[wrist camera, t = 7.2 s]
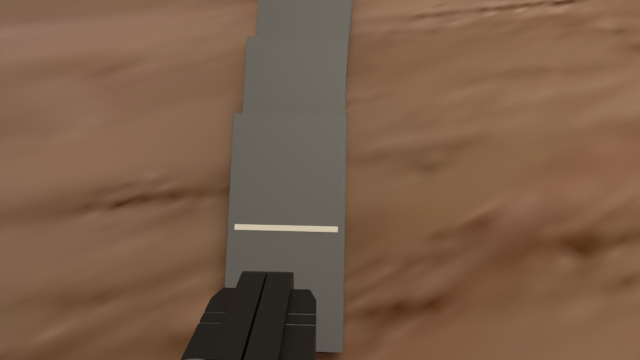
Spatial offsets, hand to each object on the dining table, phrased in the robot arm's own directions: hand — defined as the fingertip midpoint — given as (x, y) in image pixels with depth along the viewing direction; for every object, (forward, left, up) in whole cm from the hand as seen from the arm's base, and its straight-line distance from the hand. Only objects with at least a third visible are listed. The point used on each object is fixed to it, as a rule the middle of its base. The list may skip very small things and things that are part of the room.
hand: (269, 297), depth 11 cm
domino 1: (+1, -1, -6) cm, 6 cm away
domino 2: (-3, +2, -6) cm, 7 cm away
